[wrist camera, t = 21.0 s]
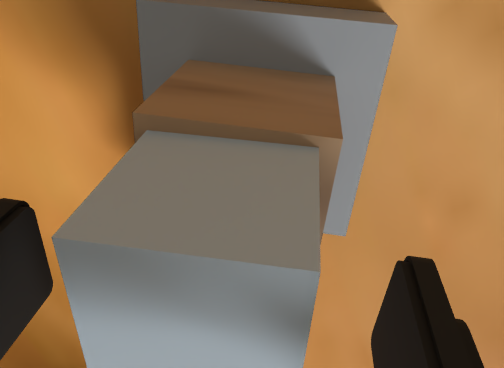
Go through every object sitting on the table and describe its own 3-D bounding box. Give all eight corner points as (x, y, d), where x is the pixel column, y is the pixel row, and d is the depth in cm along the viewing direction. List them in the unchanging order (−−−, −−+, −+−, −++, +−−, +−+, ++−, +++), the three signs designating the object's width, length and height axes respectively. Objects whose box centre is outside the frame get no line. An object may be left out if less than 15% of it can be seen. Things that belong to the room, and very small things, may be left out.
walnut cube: (311, 200, 19) (309, 293, 14) (189, 182, 20) (145, 267, 15) (334, 76, 16) (343, 139, 11) (188, 59, 17) (132, 112, 12)
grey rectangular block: (342, 203, 23) (345, 236, 20) (169, 179, 24) (151, 209, 21) (385, 12, 17) (397, 25, 15) (161, -9, 18) (136, -1, 16)
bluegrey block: (299, 277, 14) (292, 425, 10) (159, 259, 14) (93, 392, 10) (319, 147, 11) (320, 272, 7) (146, 130, 12) (51, 237, 8)
